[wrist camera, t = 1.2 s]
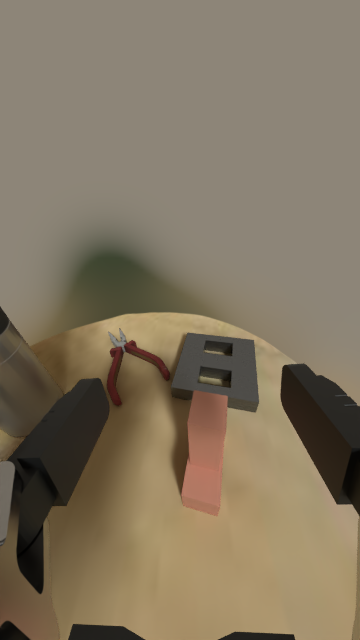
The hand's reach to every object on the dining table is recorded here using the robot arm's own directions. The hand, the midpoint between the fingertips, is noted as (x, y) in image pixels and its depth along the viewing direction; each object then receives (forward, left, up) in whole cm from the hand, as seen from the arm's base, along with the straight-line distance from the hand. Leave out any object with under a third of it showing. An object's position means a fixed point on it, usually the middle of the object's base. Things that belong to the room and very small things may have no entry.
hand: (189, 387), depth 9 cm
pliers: (-17, +21, -25) cm, 36 cm away
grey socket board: (+1, +20, -24) cm, 32 cm away
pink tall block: (+1, +4, -24) cm, 25 cm away
